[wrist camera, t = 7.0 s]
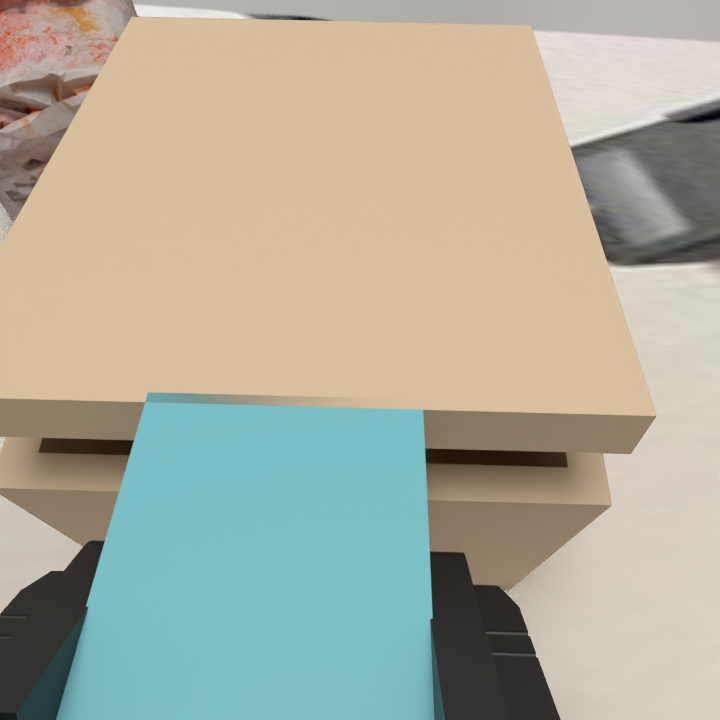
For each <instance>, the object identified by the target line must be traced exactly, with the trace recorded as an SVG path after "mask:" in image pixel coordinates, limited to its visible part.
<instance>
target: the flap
mask: <svg viewBox="0 0 720 720" xmlns="http://www.w3.org/2000/svg"><path fill="white" fill-rule="evenodd" d="M655 417H656V413H655V410H654V407H653V404H652V401H651V397H650V394H649V391H648V388H647V385H646V382H645V379H644V376H643V373H642V369H641V366H640V363H639V360H638V357H637V354H636V351H635V348H634V345H633V341H632V338H631V335H630V332H629V329H628V326H627V323H626V320H625V317H624V314H623V310H622V307H621V304H620V301H619V298H618V295H617V292H616V289H615V286H614V282H613V279H612V276H611V273H610V270H609V267H608V264H607V261H606V258H605V254H604V251H603V248H602V245H601V242H600V239H599V236H598V233H597V230H596V226H595V223H594V220H593V217H592V214H591V211H590V208H589V205H588V202H587V198H586V195H585V192H584V189H583V186H582V183H581V180H580V177H579V174H578V170H577V167H576V164H575V161H574V158H573V155H572V152H571V149H570V146H569V143H568V139H567V136H566V133H565V130H564V127H563V124H562V121H561V118H560V115H559V111H558V108H557V105H556V102H555V99H554V96H553V93H552V90H551V87H550V83H549V80H548V77H547V74H546V71H545V68H544V65H543V62H542V59H541V55H540V52H539V49H538V46H537V43H536V40H535V37H534V34H533V31H532V27H531V26H526V25H524V26H522V25H481V24H480V25H479V24H436V23H391V22H347V21H303V20H258V19H214V18H169V17H131V19H130V21H129V22H128V24H127V26H126V28H125V29H124V31H123V33H122V35H121V36H120V38H119V40H118V42H117V43H116V45H115V47H114V49H113V50H112V52H111V54H110V56H109V57H108V59H107V61H106V63H105V64H104V66H103V68H102V70H101V71H100V73H99V75H98V77H97V78H96V80H95V82H94V84H93V85H92V87H91V89H90V91H89V92H88V94H87V96H86V98H85V99H84V101H83V103H82V105H81V106H80V108H79V110H78V112H77V113H76V115H75V117H74V118H73V120H72V122H71V124H70V125H69V127H68V129H67V131H66V132H65V134H64V136H63V138H62V139H61V141H60V143H59V145H58V146H57V148H56V150H55V152H54V153H53V155H52V157H51V159H50V160H49V162H48V164H47V166H46V167H45V169H44V171H43V173H42V174H41V176H40V178H39V180H38V181H37V183H36V185H35V187H34V188H33V190H32V192H31V194H30V195H29V197H28V199H27V201H26V202H25V204H24V206H23V208H22V209H21V211H20V213H19V215H18V216H17V218H16V220H15V222H14V223H13V225H12V227H11V229H10V230H9V232H8V234H7V236H6V237H5V239H4V241H3V243H2V244H1V246H0V437H30V438H67V439H103V440H134V442H133V446H132V449H131V453H130V456H129V460H128V463H127V467H126V470H125V473H124V477H123V480H122V484H121V487H120V491H119V494H118V498H117V501H116V505H115V508H114V511H113V515H112V518H111V522H110V525H109V529H108V532H107V536H106V539H105V542H104V546H103V549H102V553H101V556H100V560H99V563H98V567H97V570H96V574H95V577H94V580H93V584H92V587H91V591H90V594H89V598H88V601H87V605H86V607H88V610H87V614H86V617H85V621H84V624H83V628H82V631H81V635H80V638H79V641H78V645H77V648H76V652H75V655H74V659H73V662H72V666H71V669H70V673H69V676H68V680H67V683H66V687H65V690H64V694H63V697H62V701H61V704H60V708H59V711H58V715H57V718H56V720H434V698H433V674H432V650H431V626H430V619H433V613H432V591H431V569H430V547H429V525H428V503H427V481H426V459H425V448H431V449H468V450H504V451H541V452H577V453H614V454H631V453H632V451H633V450H634V448H635V447H636V445H637V444H638V442H639V441H640V440H641V438H642V437H643V435H644V434H645V432H646V431H647V429H648V428H649V426H650V425H651V423H652V422H653V420H654V419H655Z"/></svg>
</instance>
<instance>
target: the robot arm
mask: <svg viewBox="0 0 720 720" xmlns="http://www.w3.org/2000/svg"><path fill="white" fill-rule="evenodd" d="M104 542H105V541H98V540H92V541H89V542H87V543H86V545H85V546H84V547H83V548H82V549H81V551H80V552H79V553H78V554H77V555H76V557H75V558H74V559H73V560H72V562H71V563H70V564H69V565H68V567H67V568H66V569H65V570H64V571H51V572H49V573H48V574H46V575H45V576H43V577H41V578H40V579H38V580H37V581H35V582H33V583H32V584H30V585H29V586H27V587H26V588H24V589H22V590H21V591H20V592H19V593H18V594H17V596H16V597H15V598H14V599H13V600H12V601H11V602H10V603H9V605H8V606H7V607H6V608H5V609H4V610H3V611H2V613H1V614H0V720H56V718H57V715H58V711H59V708H60V704H61V701H62V697H63V694H64V690H65V687H66V683H67V680H68V676H69V673H70V669H71V666H72V662H73V659H74V655H75V652H76V648H77V645H78V641H79V638H80V635H81V631H82V628H83V624H84V621H85V617H86V614H87V610H88V607H86V605H87V601H88V598H89V594H90V591H91V587H92V584H93V580H94V577H95V574H96V570H97V567H98V563H99V560H100V556H101V553H102V549H103V546H104ZM430 569H431V591H432V613H433V619H430V626H431V650H432V674H433V698H434V720H560V717H559V714H558V712H557V709H556V706H555V704H554V701H553V698H552V695H551V693H550V690H549V687H548V685H547V682H546V679H545V676H544V674H543V671H542V668H541V666H540V663H539V660H538V658H536V652H535V649H534V647H533V644H532V641H531V638H530V636H528V630H527V628H526V625H525V622H524V619H523V617H522V614H521V611H520V608H519V606H518V605H517V604H516V603H515V602H514V601H513V600H512V599H511V598H510V597H509V596H508V595H507V594H506V593H505V592H504V591H503V590H502V589H501V588H500V587H499V586H496V585H473V582H472V578H471V575H470V571H469V567H468V564H467V560H466V556H465V554H464V553H463V552H436V551H430Z"/></svg>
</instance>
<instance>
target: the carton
mask: <svg viewBox="0 0 720 720" xmlns="http://www.w3.org/2000/svg"><path fill="white" fill-rule="evenodd" d="M133 442H134V440H103V439H67V438H30V437H6V439H5V442H4V445H3V448H2V451H1V454H0V495H2V496H3V497H5V498H7V499H8V500H10V501H11V502H13V503H15V504H16V505H18V506H19V507H21V508H23V509H24V510H26V511H27V512H29V513H31V514H32V515H34V516H35V517H37V518H39V519H40V520H42V521H43V522H45V523H47V524H48V525H50V526H51V527H53V528H55V529H56V530H58V531H59V532H61V533H63V534H64V535H66V536H67V537H69V538H71V539H72V540H74V541H75V542H77V543H79V544H80V545H82V546H83V547H84V546H85V545H86V543H87V542H89V541H92V540H98V541H105V539H106V536H107V532H108V529H109V525H110V522H111V518H112V515H113V511H114V508H115V505H116V501H117V498H118V494H119V491H120V487H121V484H122V480H123V477H124V473H125V470H126V467H127V463H128V460H129V456H130V453H131V449H132V446H133ZM425 459H426V481H427V503H428V525H429V547H430V551H436V552H463V553H464V554H465V556H466V560H467V564H468V567H469V571H470V575H471V578H472V582H473V585H496V586H499V587H500V588H501V589H507V590H509V589H511V588H512V587H513V586H514V585H516V584H517V583H518V582H519V581H520V580H522V579H523V578H524V577H525V576H526V575H528V574H529V573H530V572H531V571H533V570H534V569H535V568H536V567H537V566H539V565H540V564H541V563H542V562H543V561H545V560H546V559H547V558H548V557H550V556H551V555H552V554H553V553H554V552H556V551H557V550H558V549H559V548H560V547H562V546H563V545H564V544H565V543H567V542H568V541H569V540H570V539H571V538H573V537H574V536H575V535H576V534H577V533H579V532H580V531H581V530H582V529H584V528H585V527H586V526H587V525H588V524H590V523H591V522H592V521H593V520H594V519H596V518H597V517H598V516H599V515H601V514H602V513H603V512H604V511H605V510H607V509H608V508H609V507H610V506H611V505H612V503H611V497H610V492H609V486H608V480H607V474H606V468H605V463H604V457H603V453H577V452H541V451H504V450H468V449H431V448H425Z"/></svg>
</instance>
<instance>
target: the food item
mask: <svg viewBox="0 0 720 720" xmlns="http://www.w3.org/2000/svg"><path fill="white" fill-rule="evenodd" d="M131 17H139V16H137V14H136V11H135V8H134V5H133V2H132V0H0V202H1V204H2V205H3V206H4V208H5V209H6V211H7V213H8V214H9V216H10V218H11V220H13V221H14V222H15V220H16V218H17V216H18V215H19V213H20V211H21V209H22V208H23V206H24V204H25V202H26V201H27V199H28V197H29V195H30V194H31V192H32V190H33V188H34V187H35V185H36V183H37V181H38V180H39V178H40V176H41V174H42V173H43V171H44V169H45V167H46V166H47V164H48V162H49V160H50V159H51V157H52V155H53V153H54V152H55V150H56V148H57V146H58V145H59V143H60V141H61V139H62V138H63V136H64V134H65V132H66V131H67V129H68V127H69V125H70V124H71V122H72V120H73V118H74V117H75V115H76V113H77V112H78V110H79V108H80V106H81V105H82V103H83V101H84V99H85V98H86V96H87V94H88V92H89V91H90V89H91V87H92V85H93V84H94V82H95V80H96V78H97V77H98V75H99V73H100V71H101V70H102V68H103V66H104V64H105V63H106V61H107V59H108V57H109V56H110V54H111V52H112V50H113V49H114V47H115V45H116V43H117V42H118V40H119V38H120V36H121V35H122V33H123V31H124V29H125V28H126V26H127V24H128V22H129V21H130V19H131Z"/></svg>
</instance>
